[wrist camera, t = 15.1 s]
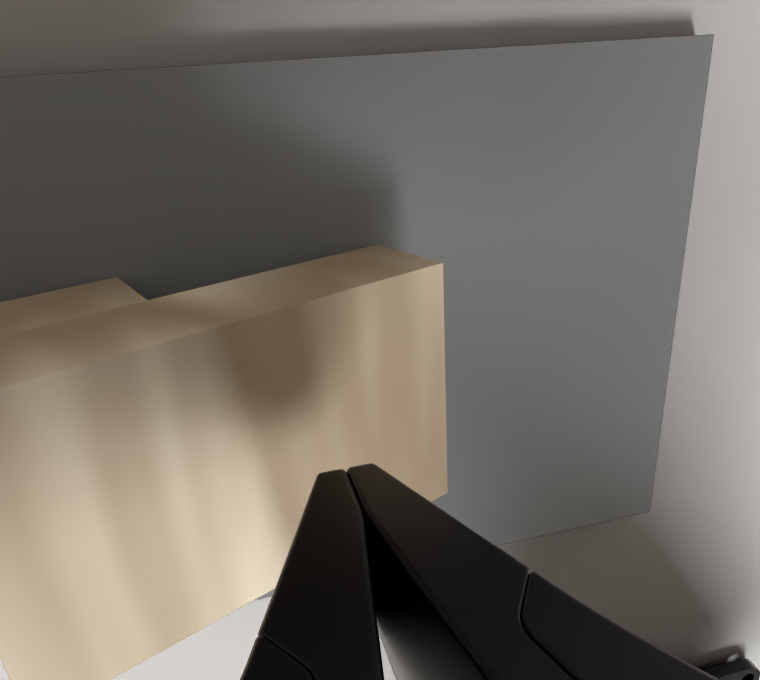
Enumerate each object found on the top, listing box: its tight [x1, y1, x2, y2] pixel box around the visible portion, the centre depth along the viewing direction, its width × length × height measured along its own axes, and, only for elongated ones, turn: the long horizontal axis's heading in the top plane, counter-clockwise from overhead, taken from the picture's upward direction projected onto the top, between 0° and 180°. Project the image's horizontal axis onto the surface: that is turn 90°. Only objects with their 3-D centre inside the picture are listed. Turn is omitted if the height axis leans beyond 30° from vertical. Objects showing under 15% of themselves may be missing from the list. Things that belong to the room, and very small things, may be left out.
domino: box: [0, 245, 448, 680], centre depth 11 cm, size 2×5×8 cm
